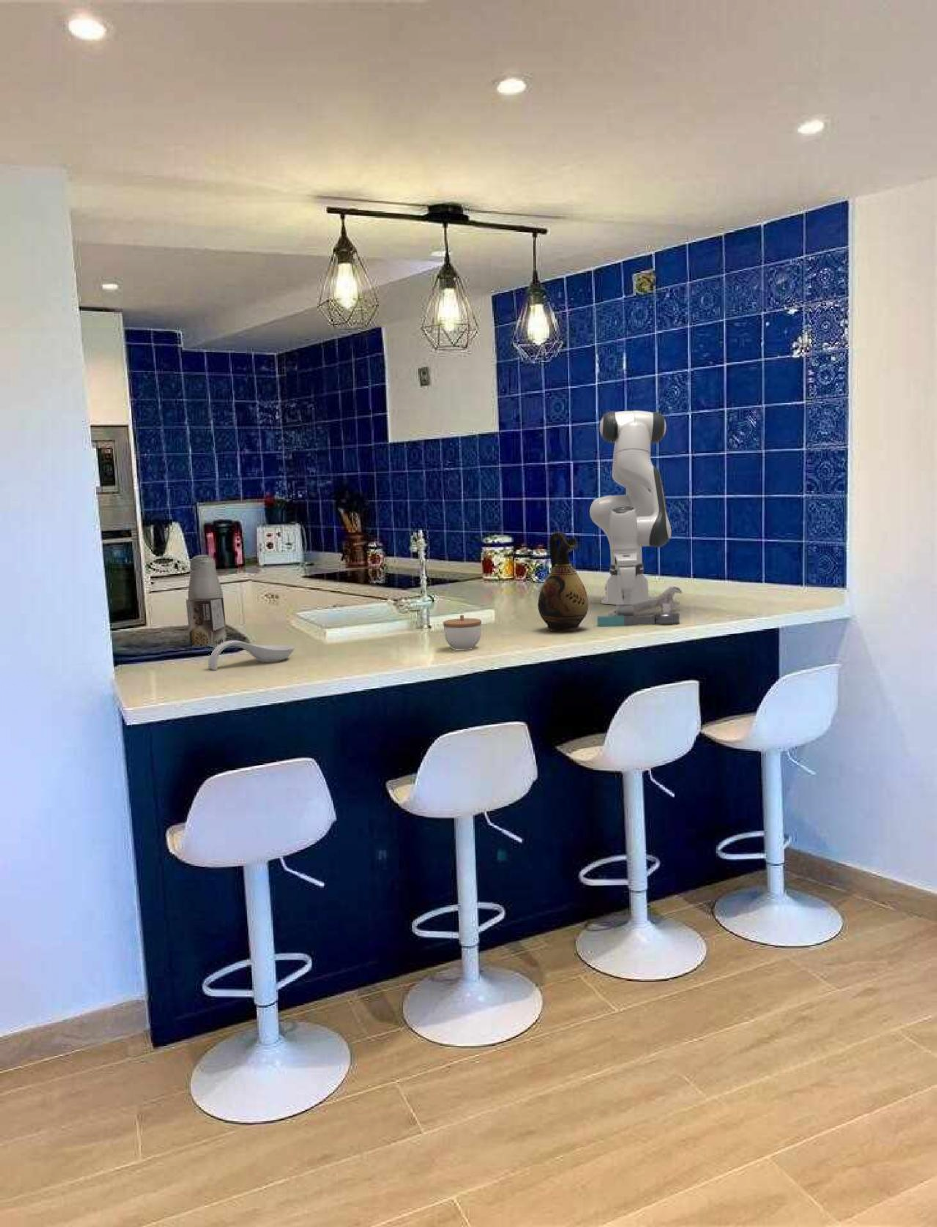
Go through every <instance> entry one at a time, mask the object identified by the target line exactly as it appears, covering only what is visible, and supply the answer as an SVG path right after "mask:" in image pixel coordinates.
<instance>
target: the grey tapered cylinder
mask: <svg viewBox="0 0 937 1227" xmlns="http://www.w3.org/2000/svg"><path fill="white" fill-rule="evenodd" d="M216 568H217V567H216V562H215V560H214V559H213V557H212V556H211V555H208V554H204V553H203V554H197V555H194V556H193V557H192V558H191V560H190V564H189V570H190V571H189V572H190V573H189V583H188V592H187V596H188V597H187V598H188V599H187V601H189V600H192V599H196V598H223V599H224V593H223V589H222V586H221V583H220V580H219V576H218V573H217V569H216Z"/></svg>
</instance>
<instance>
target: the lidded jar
mask: <svg viewBox="0 0 937 1227" xmlns="http://www.w3.org/2000/svg"><path fill="white" fill-rule="evenodd" d="M442 624H443V625H442V626H443V633H444V637H445V638H444V639H445V641H446V643H447V644H448V645H449V646H450V647H451V648H452V649H453V648H454V649H469V650H471V649H470V648H473V649H475V647H476V646H477V644H478V643H479V641H480V639H481V637H482V636H481V635H482V620H481V619H479V618H469V617H467V618H466V617H464V614H461V615H459V618H452V619H447V620H444V621H443V622H442ZM454 649H453V650H454Z"/></svg>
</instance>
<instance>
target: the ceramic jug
mask: <svg viewBox="0 0 937 1227" xmlns="http://www.w3.org/2000/svg"><path fill="white" fill-rule="evenodd" d="M558 542H559V543H558ZM557 544H558V546H557ZM548 545H549V547H548V549H549V555H550V556H549V557H550V562H551V570H550V571H549V573H548V575H547V576H546V577H545V580H544V582H543V584H542V586H541V588H540V591H539V593H538V598H537V599H538V601H537V609H538V613H539V616H540V617H541V619H542V621H544V623H545V624H546V625H547V631H550V632H553V633H557V632H558V633H561V632H563V633H566V632H567V633H569V632H573V631H577V630H579V629H578V628H579V626H580V624H581V623H582V621H583V620H584V619H585V617H586V616H587V614H588V610H589V599H588V595H587V594H588V593H587V590H586V587H585V585H584V583H583V581H582V579H581V578H580V576H579V574H578V573H577V571H576V570H575V568H574V567H573V565H572V563H571V562H570V558H569V553H570V552H572V551H574V550H576V549H577V548H579V543H578V540H577V539H576V538H575V537H571V538H570V539H568V538H567V535H566V533H564V532H562V531H555V532H554V533H552V534H551V536H550V537H549V542H548Z"/></svg>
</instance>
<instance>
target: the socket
mask: <svg viewBox="0 0 937 1227" xmlns="http://www.w3.org/2000/svg"><path fill="white" fill-rule="evenodd" d="M615 609H617V615H623V616H635V614H634V610H633V604H620V605H616V607H615Z"/></svg>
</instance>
